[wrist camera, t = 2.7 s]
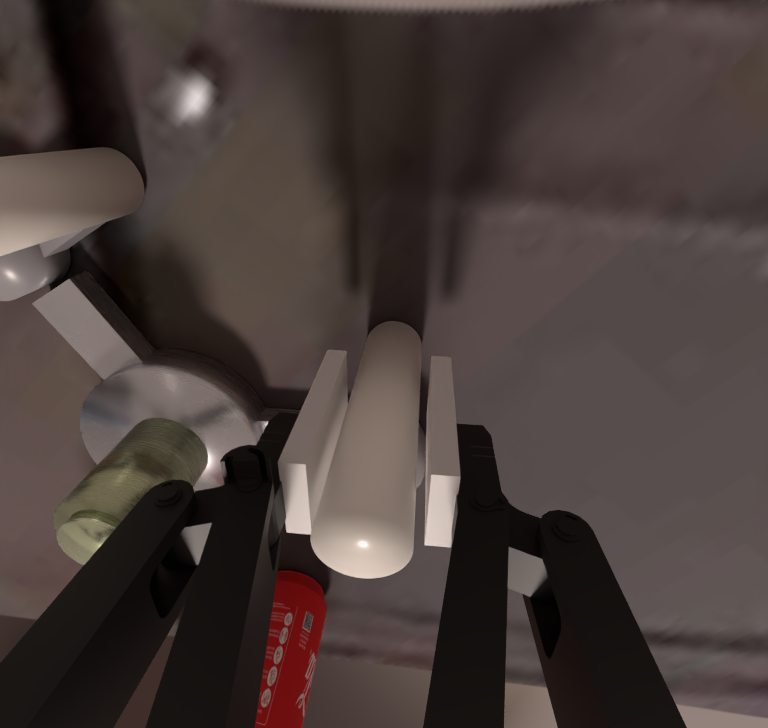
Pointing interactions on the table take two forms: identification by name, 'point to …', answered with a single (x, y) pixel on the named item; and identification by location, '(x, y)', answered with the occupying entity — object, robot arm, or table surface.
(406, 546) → the knob
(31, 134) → the table surface
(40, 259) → the knob
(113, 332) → the levelling base
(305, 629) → the beverage can
